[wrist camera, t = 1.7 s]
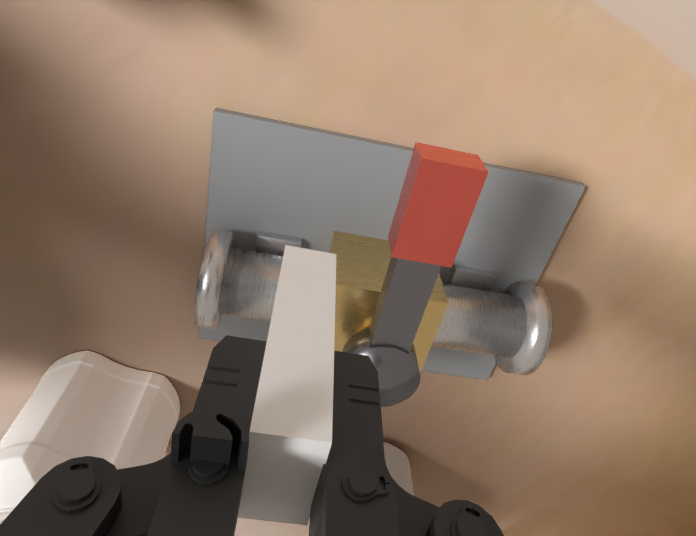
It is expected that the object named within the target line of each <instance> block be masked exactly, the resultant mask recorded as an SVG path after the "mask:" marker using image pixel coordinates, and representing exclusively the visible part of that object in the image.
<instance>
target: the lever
mask: <svg viewBox="0 0 696 536" xmlns="http://www.w3.org/2000/svg"><path fill="white" fill-rule="evenodd" d="M488 172H489V171H488V170H487V168H486V167H485V165H484V164H483V162H482V161H481V159H480V158H479V156H478V155H475V154H470V153H465V152H460V151H455V150H450V149H445V148H441V147H436V146H431V145H426V144H421V143H415V146H414V149H413V153H412V156H411V160H410V163H409V166H408V170H407V173H406V177H405V180H404V183H403V187H402V190H401V194H400V197H399V200H398V204H397V207H396V211H395V214H394V217H393V221H392V224H391V228H390V231H389V235H388V239H389V245H390V251H391V259H390V262H389V266H388V269H387V272H386V276H385V279H384V282H383V285H382V289H381V292H380V295H379V298H378V302H377V305H376V308H375V312H374V315H373V318H372V321H371V325H370V328H368V329H365V330H362V331H360V332H358V333H356V334H354V335H353V336H352V337H351V338H350V339H349V340H348V341H347V342H346V343H345V345H344V347H343V350H342V352H347V353H353V354H360V355H366V356H369V357H370V359H371V361H372V363H373V364H374V366H375V368H376V370H377V371H378V380H379V393H380V407H384V406H391V405H395V404H397V403H400V402H402V401H404V400H406V399H407V398H409V397H410V396H411V395H412V394H413V393H414V392H415V391H416V389H417V387H418V385H419V382H420V372H419V367H418V361H417V356H416V351H415V346H414V344H413V341H414V338H415V336H416V333H417V330H418V327H419V325H420V322H421V319H422V317H423V314H424V311H425V309H426V306H427V303H428V301H429V298H430V295H431V293H432V290H433V287H434V285H435V282H436V279H437V277H438V274H439V271H440V269H441V266H445V267H451V268H452V265H453V263H454V260H455V258H456V255H457V252H458V250H459V247H460V245H461V242H462V240H463V237H464V234H465V232H466V229H467V227H468V224H469V222H470V219H471V216H472V214H473V211H474V209H475V206H476V203H477V201H478V198H479V196H480V193H481V191H482V188H483V185H484V183H485V180H486V178H487V175H488Z"/></svg>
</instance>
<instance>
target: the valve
mask: <svg viewBox="0 0 696 536" xmlns="http://www.w3.org/2000/svg"><path fill="white" fill-rule="evenodd" d="M301 243H302V238H300V237H294V236H288V235H282V234H277V233H271V232H265V231H260V230H258V234H257V240H256V248H255V251H249V250H243V249H237V248H234V244H235V235H234V232H229V231H223V230H217V229H214V230H213V231H212V232H211V234H210V236H209V239H208V242H207V245H206V248H205V252H204V255H203V259H202V264H201V268H200V273H199V279H198V285H197V292H196V301H195V324H196V326H199V327H205V328H212V329H217V328H218V327H219V324H220V322H221V319H222V315H223V314H224V315H230V316H237V317H243V318H250V319H256V320H263V321H269V322H271V317H272V312H273V307H274V302H275V297H276V291H277V286H278V281H279V276H280V271H281V265H282V260H283V255H284V250H285V245H288V246H294V247H299V248H301ZM329 253H333V254H336V296H335V339H334V351H340V352H342V350H343V347H344V345H345V343H346V342H347V341H348V340H349V339H350V338H351V337H352V336H353V335H354V334H356V333H358V332H360V331H362V330H365V329H368V328H370V325H371V321H372V318H373V315H374V312H375V308H376V305H377V302H378V298H379V295H380V292H381V289H382V285H383V282H384V279H385V276H386V272H387V269H388V266H389V262H390V259H391V251H390V245H389V240H383V239H378V238H372V237H367V236H361V235H355V234H350V233H344V232H339V231H333V235H332V239H331V244H330V248H329ZM495 279H496V276H495V274H494V272H493V271H487V270H481V269H476V268H470V267H464V266H459V265H454V266H453V269H452V272H451V274H450V277H449V279H448V282H447V284H443V283H442V281H441V277H440V274H438V277H437V279H436V282H435V285H434V287H433V290H432V293H431V295H430V298H429V301H428V303H427V306H426V309H425V311H424V314H423V317H422V319H421V322H420V325H419V327H418V330H417V333H416V336H415V338H414V341H413V344H414V346H415V351H416V356H417V361H418V367H419V372H420V373H421V370H422V368H423V365H424V363H425V360H426V358H427V355H428V353H429V350H430V348H431V346H432V347H439V348H445V349H452V350H459V351H465V352H472V353H478V354H485V355H491V356H494V358H495V361H496V363H497V365H498V367H499V368H500V369H501V370H502V371H504V372H507V373H514V374H520V375H528V374H531V373H533V372H534V371H535V370H536V369H537V368H538V367H539V366H540V364H541V363H542V361H543V360H544V358H545V355H546V353H547V350H548V347H549V344H550V339H551V334H552V310H551V305H550V301H549V298H548V296H547V294H546V292H545V291H544V290H543V289H542V288H541V287H540V286H537V285H533V284H527V283H522V282H515V283H513V284H511V285H510V286H508V287H507V289H506V291H505V293H504V294H501V293H496V292H490V290H491V287H492V285H493V283H494V281H495Z"/></svg>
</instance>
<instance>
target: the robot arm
mask: <svg viewBox="0 0 696 536" xmlns="http://www.w3.org/2000/svg"><path fill="white" fill-rule="evenodd" d="M335 296H336V254H333V253H327V252H322V251H316V250H311V249H305V248H299V247H294V246H288V245H285V250H284V255H283V260H282V265H281V271H280V276H279V281H278V286H277V291H276V297H275V302H274V307H273V312H272V317H271V322H270V328H269V333H268V338H267V341H261V340H254V339H248V338H241V337H235V336H228V335H226V336H225V337H224V338H223V339H222V340H221V341H220V342H219V343H218V344H217V345H216V346H215V347H214V348H213V350H212V354H211V357H210V360H209V363H208V367H207V369H206V372H205V375H204V378H203V383H202V385H201V388H200V391H199V394H198V397H197V400H196V403H195V406H194V409H193V412H191V413H189V414H188V415H187V416H185V417H184V418H183V419H181V420H180V421H179V422H178V424H177V425H176V427H175V429H174V430H173V432H172V450H171V453H170V454H169V455H168V456H166V457H164V458H162V459H160V460H158V461H156V462H153V463H149V464H146V465H141V466H135V467H130V468H124V469H118V470H117V469H116V467H115V465H113V464H112V463H110V462H108V461H107V460H105V459H103V458H98V457H92V456H84V457H78V458H71V459H69V460H67V461H65V462H63V463H61V464H58V465H56V466H55V467H53V468H52V469H51V470H50V471H49V472H47V473H46V474H45V475H44V476H43V477H42V478H41V479H40V480H39V481H38V482H37V483H36V484H35V485H34V487H33V488H32V489H31V490H30V491H29V492H28V493H27V495H26V496H25V497H24V498H23V499H22V500H21V501H20V503H19V504H18V505H17V506H16V507H15V508H14V509H13V511H12V512H11V513H10V514H9V515H8V516H7V517H6V519H5V520H4V521H3V522H2V523H1V524H0V536H234V533H235V528H236V522H237V517H239V518H248V519H257V520H266V521H275V522H284V523H293V524H302V525H307V524H308V521H309V518H310V526H309V536H504V535H503V533H502V531H501V529H500V528H499V526H498V525H497V523H496V522H495V520H494V519H493V517H492V516H491V515H490V514H488V513H487V512H486V511H485V510H484V509H483V508H481V507H480V506H478V505H476V504H474V503H471V502H469V501H466V500H452V501H449V502H446V503H444V504H443V505H442V506H441V507H440V508H439V507H437V506H435V505H432V504H430V503H428V502H426V501H424V500H421V499H419V498H417V497H415V496H413V495H411V494H410V493H408V492H406V491H405V490H404V489H403V488H401V487H400V486H399V485H398V484H397V483H396V482H395V480H394V479H393V478H392V476H391V475H390V473H389V471H388V469H387V466H386V462H385V456H384V443H383V430H382V418H381V407H380V393H379V380H378V371H377V370H376V368H375V366H374V364H373V363H372V361H371V359H370V357H369V356H366V355H360V354H353V353H347V352H340V351H334V339H335Z"/></svg>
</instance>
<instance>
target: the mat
mask: <svg viewBox="0 0 696 536" xmlns="http://www.w3.org/2000/svg"><path fill="white" fill-rule="evenodd" d="M413 149H414V148H409V147H404V146H399V145H394V144H389V143H385V142H380V141H375V140H370V139H365V138H360V137H355V136H350V135H345V134H341V133H336V132H331V131H326V130H321V129H316V128H311V127H306V126H301V125H297V124H292V123H287V122H282V121H277V120H272V119H267V118H262V117H257V116H253V115H248V114H243V113H238V112H233V111H228V110H223V109H218V108H216V109H215V110H214V116H213V131H212V146H211V160H210V175H209V190H208V205H207V220H206V235H205V248H206V245H207V242H208V239H209V236H210V234H211V232H212V231H213V230H214V229H217V230H223V231H229V232H234V235H235V244H234V248H237V249H243V250H249V251H255V248H256V240H257V234H258V230H260V231H265V232H271V233H277V234H282V235H288V236H294V237H300V238H302V243H301V248H305V249H311V250H316V251H322V252H327V253H329V248H330V244H331V239H332V235H333V231H339V232H344V233H350V234H355V235H361V236H367V237H372V238H378V239H383V240H389V239H388V235H389V231H390V228H391V224H392V221H393V217H394V214H395V211H396V207H397V204H398V200H399V197H400V194H401V190H402V187H403V183H404V180H405V177H406V173H407V170H408V166H409V163H410V160H411V156H412V153H413ZM483 164H484V165H485V167H486V168H487V170H488V171H489V172H488V175H487V178H486V180H485V183H484V185H483V188H482V191H481V193H480V196H479V198H478V201H477V203H476V206H475V209H474V211H473V214H472V216H471V219H470V222H469V224H468V227H467V229H466V232H465V234H464V237H463V240H462V242H461V245H460V247H459V250H458V252H457V255H456V258H455V260H454V263H453V265H452V268H451V267H445V266H441V269H440V271H439V274H440V277H441V281H442V283H443V284H447V282H448V279H449V277H450V274H451V272H452V269H453V266H454V265H459V266H464V267H470V268H476V269H481V270H487V271H493V272H494V274H495V276H496V279H495V281H494V283H493V285H492V287H491V290H490V292H496V293H501V294H504V293H505V291H506V289H507V287H508V286H510V285H511V284H513V283H515V282H522V283H527V284H533V285H536V284H537V282H538V280H539V278H540V276H541V274H542V272H543V270H544V268H545V266H546V264H547V262H548V260H549V258H550V256H551V254H552V252H553V250H554V248H555V246H556V244H557V242H558V240H559V238H560V236H561V234H562V232H563V230H564V228H565V226H566V225H567V223H568V221H569V219H570V217H571V215H572V213H573V211H574V209H575V207H576V205H577V203H578V201H579V199H580V197H581V195H582V193H583V191H584V189H585V187H586V186H585V185H584V184H583V183H580V182H575V181H570V180H565V179H560V178H556V177H551V176H546V175H541V174H536V173H531V172H526V171H521V170H516V169H512V168H507V167H502V166H497V165H492V164H487V163H483ZM204 252H205V250H204ZM269 328H270V322H269V321H263V320H256V319H250V318H243V317H237V316H230V315H224V314H223V315H222V319H221V322H220V324H219V327H218V328H217V329H212V328H205V327H199V338H202V339H209V340H216V341H221V340H222V339H223V338H224V337H225V336H226V335H228V336H235V337H241V338H248V339H254V340H261V341H267V338H268V333H269ZM495 364H496V361H495V358H494V356H491V355H485V354H478V353H472V352H465V351H459V350H452V349H445V348H439V347H432V346H431V348H430V350H429V353H428V355H427V358H426V360H425V363H424V365H423V368H422V370H421V371H428V372H435V373H441V374H448V375H455V376H462V377H469V378H476V379H482V380H488V378H489V376H490V374H491V372H492V370H493V368H494V366H495Z"/></svg>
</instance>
